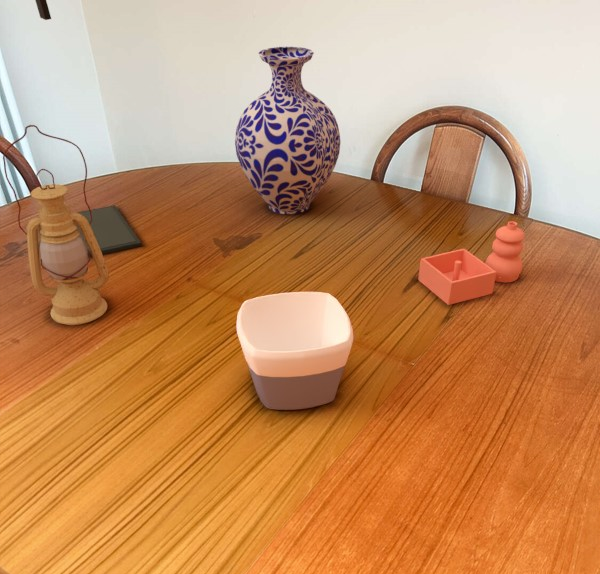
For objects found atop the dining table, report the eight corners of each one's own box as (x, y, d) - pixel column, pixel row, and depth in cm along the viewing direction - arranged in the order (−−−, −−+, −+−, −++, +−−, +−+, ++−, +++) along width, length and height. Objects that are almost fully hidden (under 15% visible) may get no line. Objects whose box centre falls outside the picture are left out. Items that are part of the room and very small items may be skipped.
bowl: (335, 349, 101) (338, 285, 94) (359, 413, 89) (364, 346, 82) (236, 360, 99) (230, 295, 92) (247, 427, 87) (242, 359, 80)
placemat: (58, 264, 123) (57, 259, 122) (39, 223, 136) (38, 219, 136) (141, 246, 128) (141, 241, 127) (115, 208, 142) (114, 204, 141)
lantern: (113, 289, 115) (75, 110, 96) (118, 318, 108) (78, 130, 89) (42, 300, 112) (-12, 118, 93) (42, 331, 105) (-16, 140, 86)
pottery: (448, 305, 111) (456, 251, 104) (418, 279, 117) (424, 228, 111) (533, 282, 116) (546, 231, 110) (500, 259, 123) (510, 209, 117)
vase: (219, 204, 143) (205, 52, 124) (292, 178, 154) (290, 35, 135) (284, 236, 131) (281, 73, 112) (358, 206, 142) (367, 53, 123)
